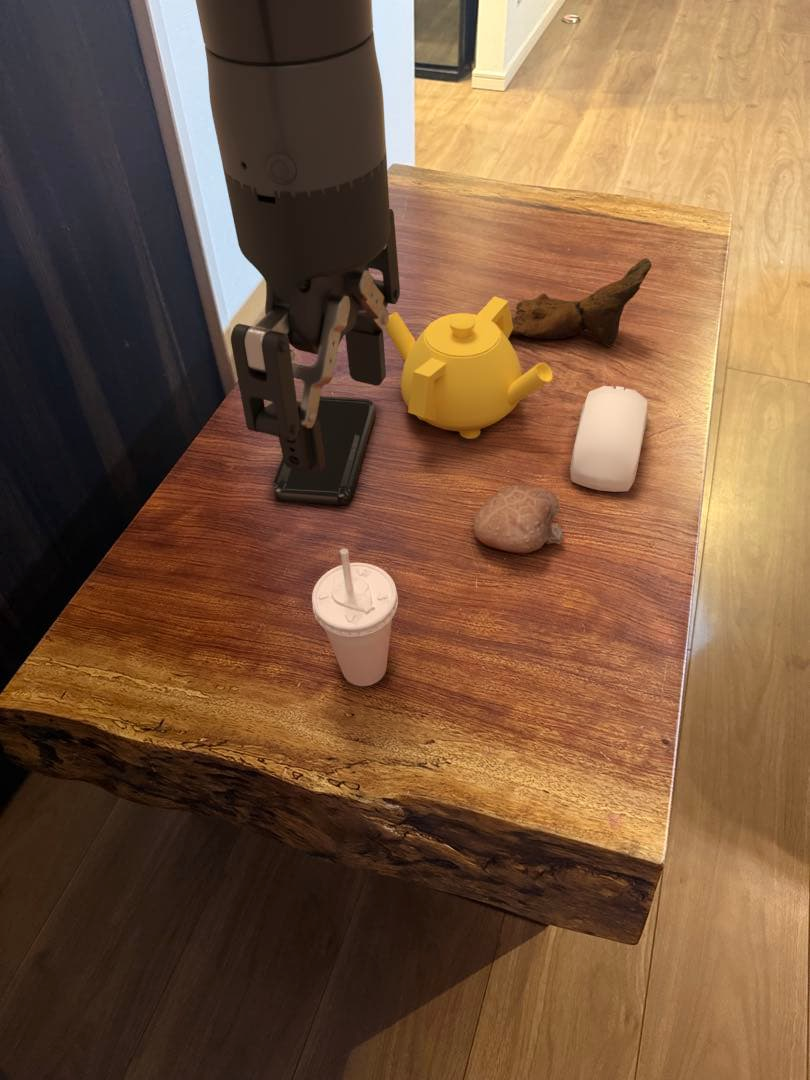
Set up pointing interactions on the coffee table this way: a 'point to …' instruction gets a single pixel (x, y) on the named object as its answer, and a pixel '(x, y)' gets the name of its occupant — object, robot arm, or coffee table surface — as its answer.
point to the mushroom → (518, 519)
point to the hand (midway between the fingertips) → (338, 422)
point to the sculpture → (580, 310)
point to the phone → (331, 454)
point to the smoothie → (357, 617)
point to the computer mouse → (609, 439)
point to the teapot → (464, 369)
